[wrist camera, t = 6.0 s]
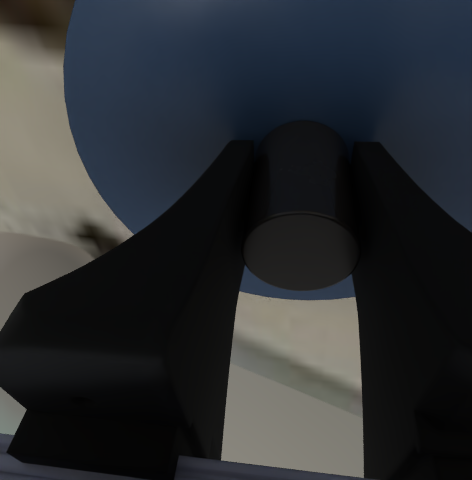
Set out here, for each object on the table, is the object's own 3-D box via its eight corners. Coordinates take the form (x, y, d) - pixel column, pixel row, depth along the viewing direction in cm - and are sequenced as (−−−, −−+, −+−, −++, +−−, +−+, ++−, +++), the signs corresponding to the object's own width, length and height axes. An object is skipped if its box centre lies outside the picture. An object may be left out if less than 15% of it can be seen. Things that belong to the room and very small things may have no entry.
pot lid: (683, 109, 10) (871, 245, 6) (311, 316, 18) (312, 418, 15) (265, -494, 5) (194, -1072, 2) (29, 162, 14) (-57, 263, 10)
